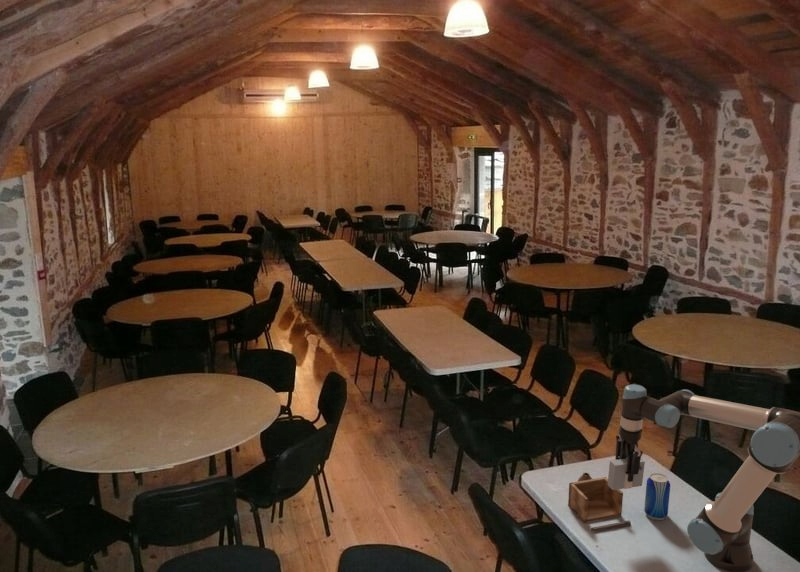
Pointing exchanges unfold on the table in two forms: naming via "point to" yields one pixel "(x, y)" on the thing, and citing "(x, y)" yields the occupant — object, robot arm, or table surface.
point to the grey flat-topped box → (623, 474)
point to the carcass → (596, 502)
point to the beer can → (657, 496)
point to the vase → (584, 477)
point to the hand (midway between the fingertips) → (624, 484)
